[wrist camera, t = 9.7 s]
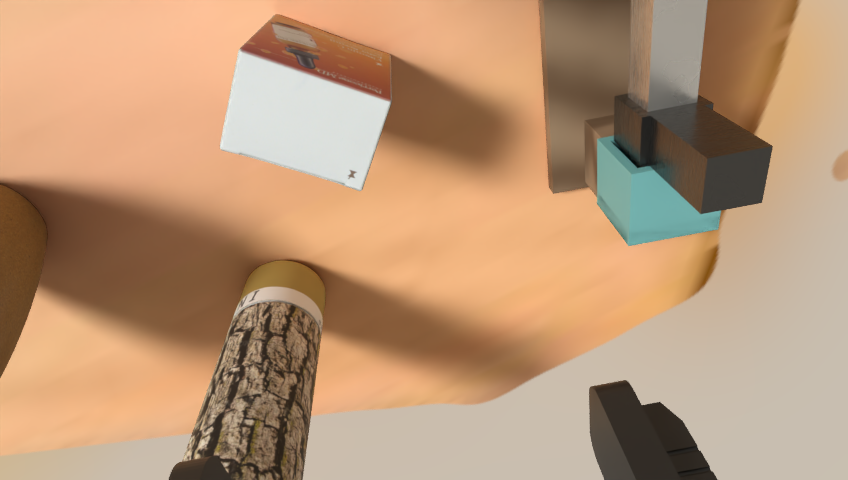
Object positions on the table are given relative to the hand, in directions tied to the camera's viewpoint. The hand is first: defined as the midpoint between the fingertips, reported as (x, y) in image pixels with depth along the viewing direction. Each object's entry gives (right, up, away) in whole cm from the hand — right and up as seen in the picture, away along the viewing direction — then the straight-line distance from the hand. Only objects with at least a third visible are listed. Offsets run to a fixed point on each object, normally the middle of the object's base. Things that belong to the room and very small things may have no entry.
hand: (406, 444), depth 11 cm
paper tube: (-11, 0, +34) cm, 36 cm away
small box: (-7, +16, +25) cm, 30 cm away
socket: (+15, +10, +25) cm, 31 cm away
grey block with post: (+14, +17, +20) cm, 29 cm away
